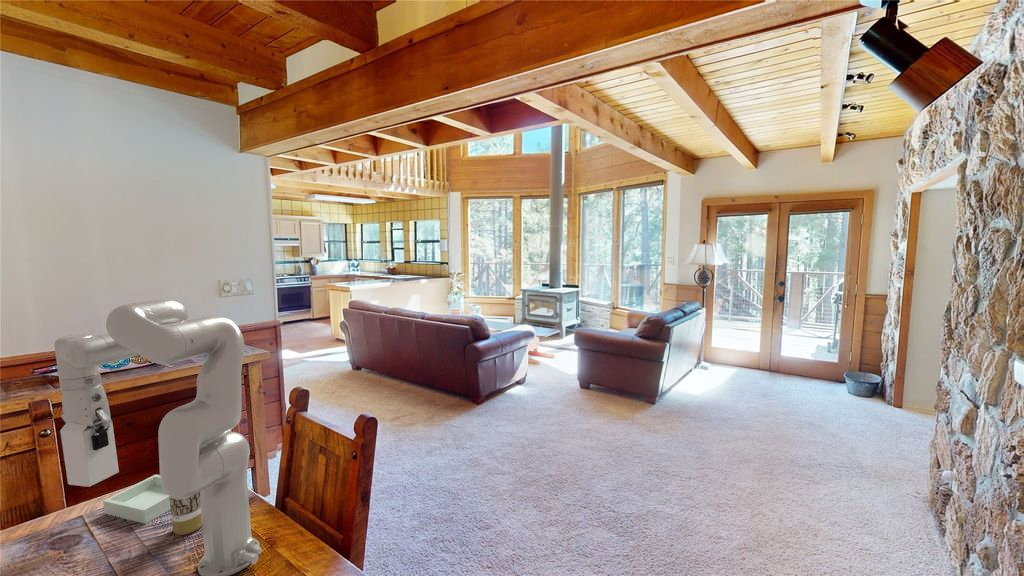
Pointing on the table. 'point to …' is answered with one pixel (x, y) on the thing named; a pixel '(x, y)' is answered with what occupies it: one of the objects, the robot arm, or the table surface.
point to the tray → (139, 501)
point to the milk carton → (87, 455)
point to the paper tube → (186, 514)
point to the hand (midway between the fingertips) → (89, 445)
